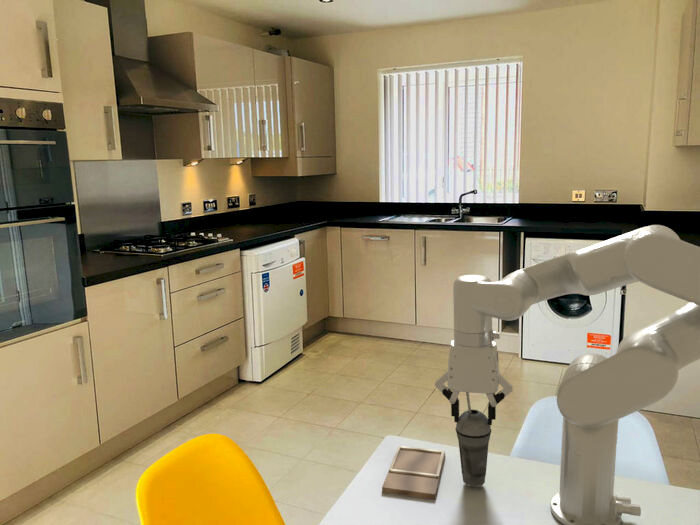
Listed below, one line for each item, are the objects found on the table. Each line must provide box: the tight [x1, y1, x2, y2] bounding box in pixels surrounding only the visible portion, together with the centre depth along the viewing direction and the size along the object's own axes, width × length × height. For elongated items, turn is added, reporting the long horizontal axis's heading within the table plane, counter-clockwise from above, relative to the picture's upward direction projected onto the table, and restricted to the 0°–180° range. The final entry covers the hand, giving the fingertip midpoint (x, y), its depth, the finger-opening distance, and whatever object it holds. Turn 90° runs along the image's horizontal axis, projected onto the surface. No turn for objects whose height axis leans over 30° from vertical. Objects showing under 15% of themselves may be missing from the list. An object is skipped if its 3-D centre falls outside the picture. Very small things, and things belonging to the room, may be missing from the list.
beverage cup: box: [455, 392, 492, 488], centre depth 121 cm, size 7×7×20 cm
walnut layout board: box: [381, 445, 446, 500], centre depth 128 cm, size 11×17×2 cm, turn 164°
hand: (473, 420), depth 121 cm, fingers closed on beverage cup, 6 cm apart
